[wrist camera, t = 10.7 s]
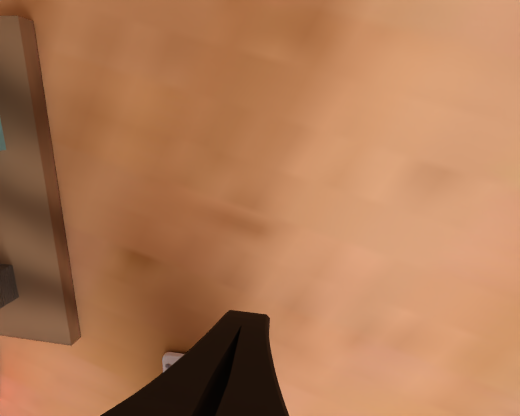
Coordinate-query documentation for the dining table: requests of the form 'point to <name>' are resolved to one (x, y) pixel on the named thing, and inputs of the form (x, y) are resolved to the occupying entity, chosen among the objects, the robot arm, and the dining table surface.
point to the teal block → (2, 139)
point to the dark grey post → (7, 285)
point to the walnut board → (31, 199)
